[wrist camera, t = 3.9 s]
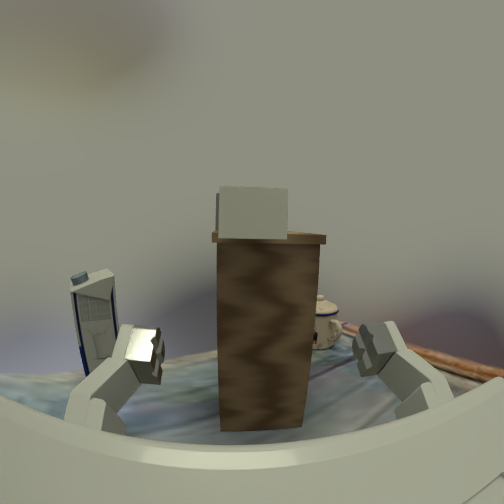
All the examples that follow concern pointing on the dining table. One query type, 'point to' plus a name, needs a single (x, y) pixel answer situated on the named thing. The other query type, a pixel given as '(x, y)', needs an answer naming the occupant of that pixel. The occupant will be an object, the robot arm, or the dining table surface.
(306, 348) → the stand
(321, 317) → the teacup with lid
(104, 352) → the milk carton
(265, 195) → the power strip
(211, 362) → the dining table surface
